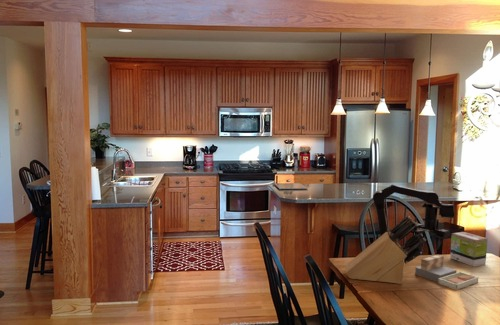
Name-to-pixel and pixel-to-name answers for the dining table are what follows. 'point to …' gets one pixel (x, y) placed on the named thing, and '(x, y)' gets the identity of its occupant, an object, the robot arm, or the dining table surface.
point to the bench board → (435, 272)
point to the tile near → (455, 280)
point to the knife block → (387, 255)
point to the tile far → (465, 277)
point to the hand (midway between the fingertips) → (428, 247)
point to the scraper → (432, 262)
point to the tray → (446, 283)
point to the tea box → (468, 248)
